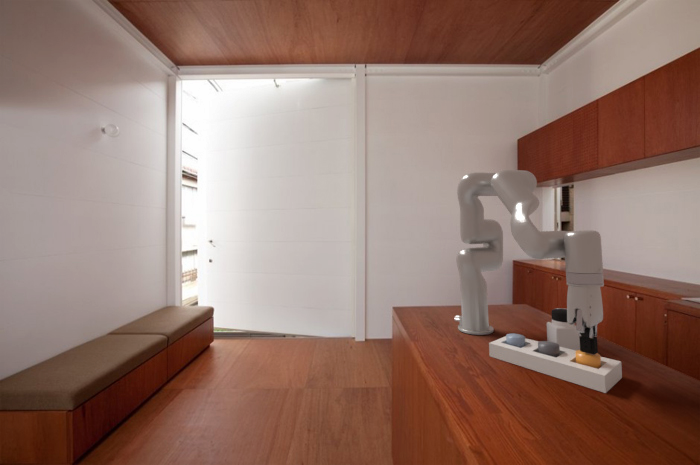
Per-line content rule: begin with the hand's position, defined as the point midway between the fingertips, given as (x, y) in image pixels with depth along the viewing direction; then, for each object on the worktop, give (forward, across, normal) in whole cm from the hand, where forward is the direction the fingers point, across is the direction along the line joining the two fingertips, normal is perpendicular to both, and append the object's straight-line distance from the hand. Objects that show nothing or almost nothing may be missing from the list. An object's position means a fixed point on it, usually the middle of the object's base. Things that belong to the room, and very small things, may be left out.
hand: (589, 352), depth 77 cm
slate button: (+4, 0, -18) cm, 19 cm away
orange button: (+4, 0, 0) cm, 4 cm away
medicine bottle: (+6, -18, -12) cm, 23 cm away
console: (+6, 0, -9) cm, 11 cm away
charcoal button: (+4, 0, -9) cm, 10 cm away
